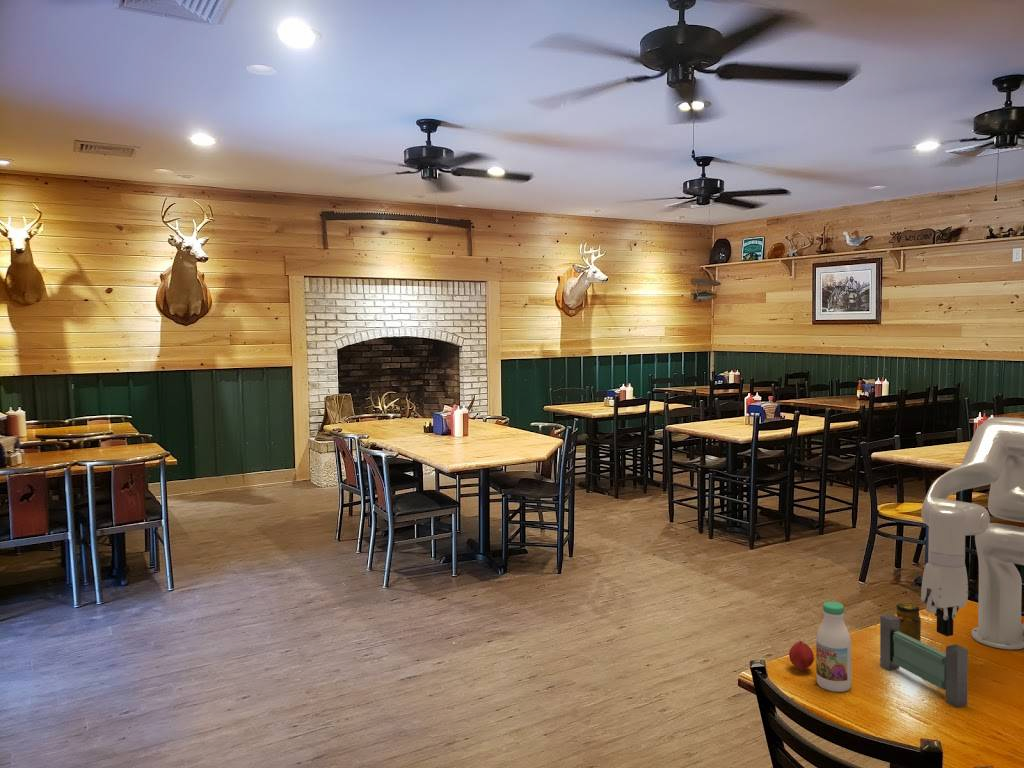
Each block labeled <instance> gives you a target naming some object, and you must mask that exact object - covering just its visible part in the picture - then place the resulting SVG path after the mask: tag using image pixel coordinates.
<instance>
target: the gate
mask: <svg viewBox="0 0 1024 768" xmlns="http://www.w3.org/2000/svg"><path fill="white" fill-rule="evenodd" d="M893 641H894V657H893V663H894V664H896V665H898V666H899V668H902V669H903V670H905V671H907V672H909V673H911V674H913V675H914V676H917V677H919V678H920V679H922V680H924V681H926V682H928V683H930V684H932V685H934V686H936V687H937V688H939V689H941V690H943V691H946V652H943V651H941V650H939V649H937V648H935V647H933V646H930V645H929V644H926V643H924V642H920V641H918V640H916V639H914V638H912V637H910V636H908V635H905V634H903V633H901V632H899V631H897V632H894V635H893Z"/></svg>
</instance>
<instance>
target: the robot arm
mask: <svg viewBox="0 0 1024 768" xmlns="http://www.w3.org/2000/svg"><path fill="white" fill-rule="evenodd" d="M988 485H990V487H989V494H988V501H987V508H986V507H984V506H982V505H980V504H977V503H972V502H967V501H966V502H965V501H962V500H955V499H950V498H949V497H950V496H952V495H953V494H956V493H959V492H961V491H965V490H969V489H975V488H979V487H982V486H983V487H984V486H988ZM948 498H949V499H948ZM921 506H922V507H921V513H920V515H921V519H922V521H923V522H924V524H925V525H926V526H928V555H927V556H928V559H927V560H928V562H927V563H925V565H924V569H923V573H922V574H923V575H922V579H921V581H922V582H921V590H920V600H921V603H923V604H926V607H925V611H926V612H928V613H931V614H934V616H935V617H936V632H937V633H938V634H941V635H943V636H945V637H951V636H953V635H954V621H955V619H956V618H957V613H958V611H959V610H961V609H963V608H964V607H965V605H966V604H967V602H968V598H969V580H968V572H967V567H966V537H967V536H974V540H975V541H974V542H975V547H976V548H975V549H976V554H977V559H978V609H977V610H978V612H977V613H978V615H977V616H978V618H977V619H978V620H977V625H978V626H976V627H974V628H972V629H971V637H972V638H973V639H974V640H975V641H976V642H979V643H980V644H982V645H986V646H988V647H991V648H996V649H1001V650H1011V651H1013V650H1014V651H1015V650H1021V649H1022V650H1023V649H1024V635H1023V634H1024V622H1022V589H1023V588H1022V585H1023V584H1022V577H1021V573H1020V571H1019V570H1018V568H1017V567H1016V565H1022V566H1024V527H1020V526H1017V525H1010V524H1004V523H997V522H991V518H990V515H991V516H993V517H995V518H998V519H1002V520H1007V521H1011V522H1016V523H1017V522H1018V523H1023V524H1024V418H1021V417H1008V416H1007V417H1006V416H1005V417H1003V416H1000V417H990V418H987V419H985V420H984V421H983V422H982V423H981V424H979V425H978V426H977V427H976V430H975V431H974V434H973V436H972V438H971V441H970V442H969V445H968V448H967V450H966V453H965V455H964V457H963V459H962V462H961V464H959V465H957V466H955V467H953V468H951V469H950V470H948V471H946V472H944V474H942V475H940V476H939V477H938V478H936V479H935V480H934V481H933V482H932V483H931V485H930V487H929V489H928V491H927V493H926V496H925V498H924V500H923V503H922V505H921ZM1015 564H1016V565H1015Z"/></svg>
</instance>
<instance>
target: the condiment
mask: <svg viewBox="0 0 1024 768" xmlns="http://www.w3.org/2000/svg"><path fill="white" fill-rule="evenodd" d="M894 616H895V617H898V618H899V632H901V633H903V634H905V635H908V636H910V637H912V638H914V639H916V640H918V641H920V642H921V638H922V637H921V635H922V634H921V631H922V629H921V628H922V626H921V625H922V622H921V621H922V620H921V619H922V618H921V617H920V608H919V606H918V605H916V604H914V603H911V602H899V603H897V604H896V613H895V614H894Z"/></svg>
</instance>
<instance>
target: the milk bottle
mask: <svg viewBox="0 0 1024 768" xmlns="http://www.w3.org/2000/svg"><path fill="white" fill-rule="evenodd" d="M844 607H845V606H844V605H843V604H842V602H841V603H840V602H838V601H825V602H824V603H823V604H822V613H823V619H822V620H821V623H820V625H819V627H818V630H817V632H816V633H817V634H816V640H815V641H816V643H815V646H816V649H815V653H816V655H815V657H816V659H815V663H816V666H815V667H816V668H815V669H816V682H817V685H818V687H820V688H822V689H824V690H826V691H830V692H835V693H838V692H839V693H843V692H848V691H849V690H850V689H851V687H852V639H851V636H850V632H849V630H848V627H847V626H846V624H845V621H844V615H845V612H844V611H845V608H844Z"/></svg>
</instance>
